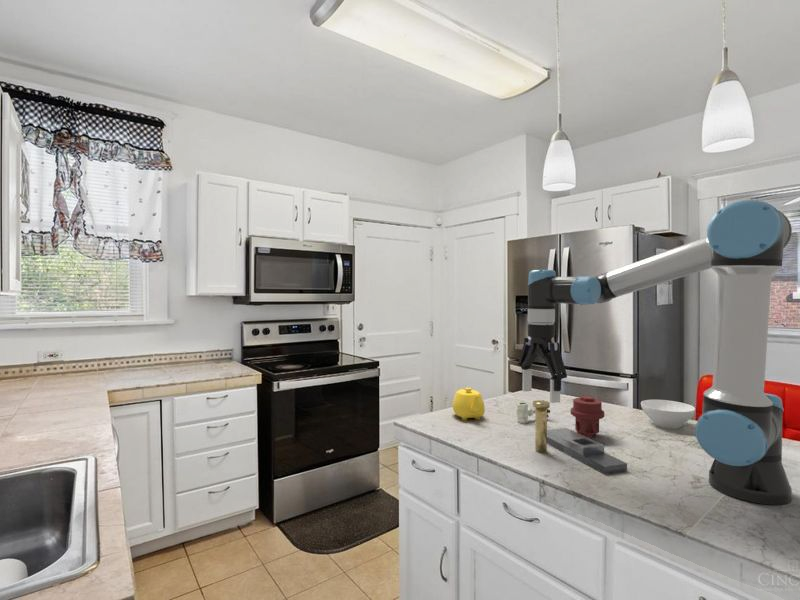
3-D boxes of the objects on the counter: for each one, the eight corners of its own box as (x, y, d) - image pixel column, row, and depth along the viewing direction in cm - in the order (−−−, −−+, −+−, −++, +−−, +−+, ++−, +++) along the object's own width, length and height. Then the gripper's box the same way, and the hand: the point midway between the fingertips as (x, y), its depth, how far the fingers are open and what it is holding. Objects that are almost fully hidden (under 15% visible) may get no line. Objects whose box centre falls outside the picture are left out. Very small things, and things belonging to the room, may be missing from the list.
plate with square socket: (627, 471, 113) (627, 455, 113) (604, 474, 111) (604, 458, 111) (566, 440, 136) (566, 427, 136) (546, 443, 134) (546, 430, 134)
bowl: (697, 436, 140) (697, 414, 140) (640, 428, 148) (640, 407, 148) (693, 422, 154) (693, 402, 153) (641, 416, 162) (641, 397, 161)
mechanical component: (600, 431, 145) (608, 441, 135) (568, 429, 147) (573, 439, 137) (600, 394, 145) (608, 401, 135) (568, 393, 147) (573, 400, 137)
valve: (524, 425, 152) (550, 420, 157) (524, 406, 152) (550, 402, 157) (511, 420, 158) (537, 415, 163) (511, 402, 158) (537, 398, 163)
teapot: (493, 423, 154) (493, 393, 154) (464, 425, 152) (463, 395, 151) (473, 409, 172) (473, 382, 172) (446, 411, 169) (446, 384, 169)
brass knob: (552, 452, 126) (552, 403, 126) (539, 454, 125) (539, 405, 125) (543, 447, 131) (543, 399, 130) (529, 449, 129) (529, 401, 129)
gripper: (581, 327, 116) (580, 406, 117) (527, 319, 140) (527, 386, 141) (557, 327, 114) (556, 408, 115) (507, 320, 138) (506, 387, 139)
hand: (540, 396), depth 128 cm, fingers open, 13 cm apart
